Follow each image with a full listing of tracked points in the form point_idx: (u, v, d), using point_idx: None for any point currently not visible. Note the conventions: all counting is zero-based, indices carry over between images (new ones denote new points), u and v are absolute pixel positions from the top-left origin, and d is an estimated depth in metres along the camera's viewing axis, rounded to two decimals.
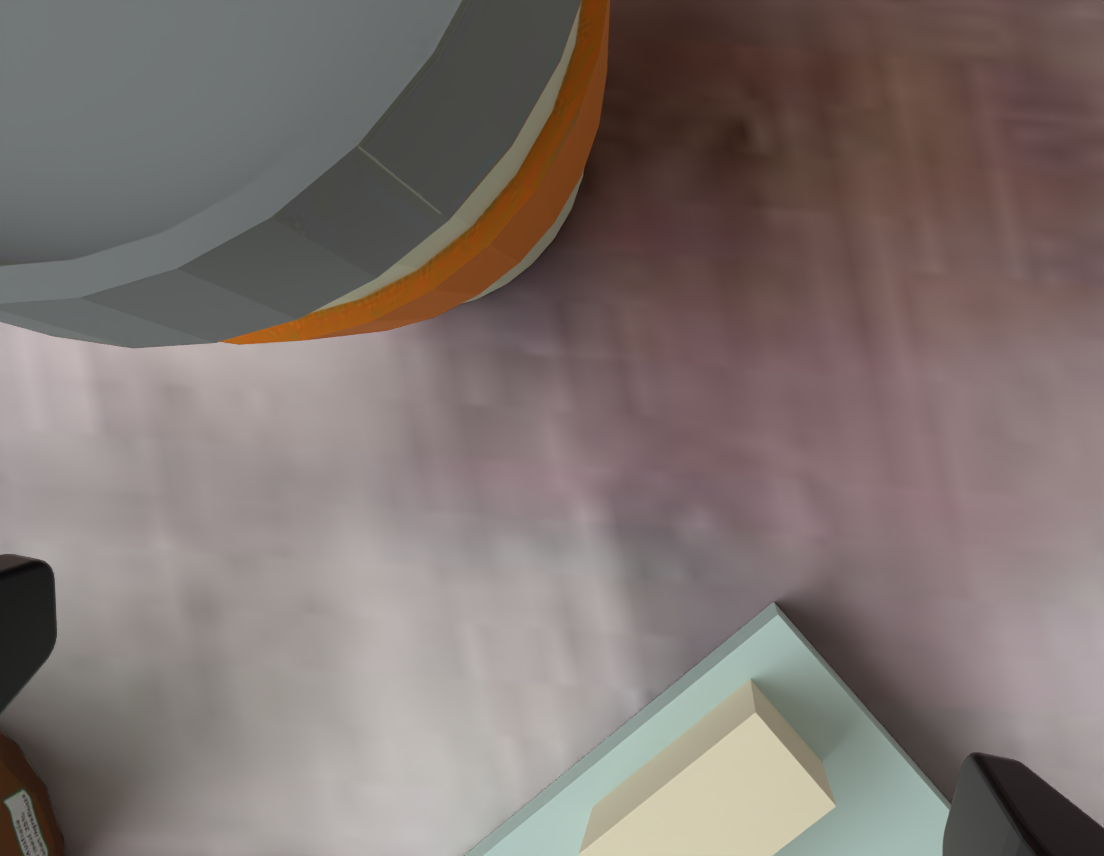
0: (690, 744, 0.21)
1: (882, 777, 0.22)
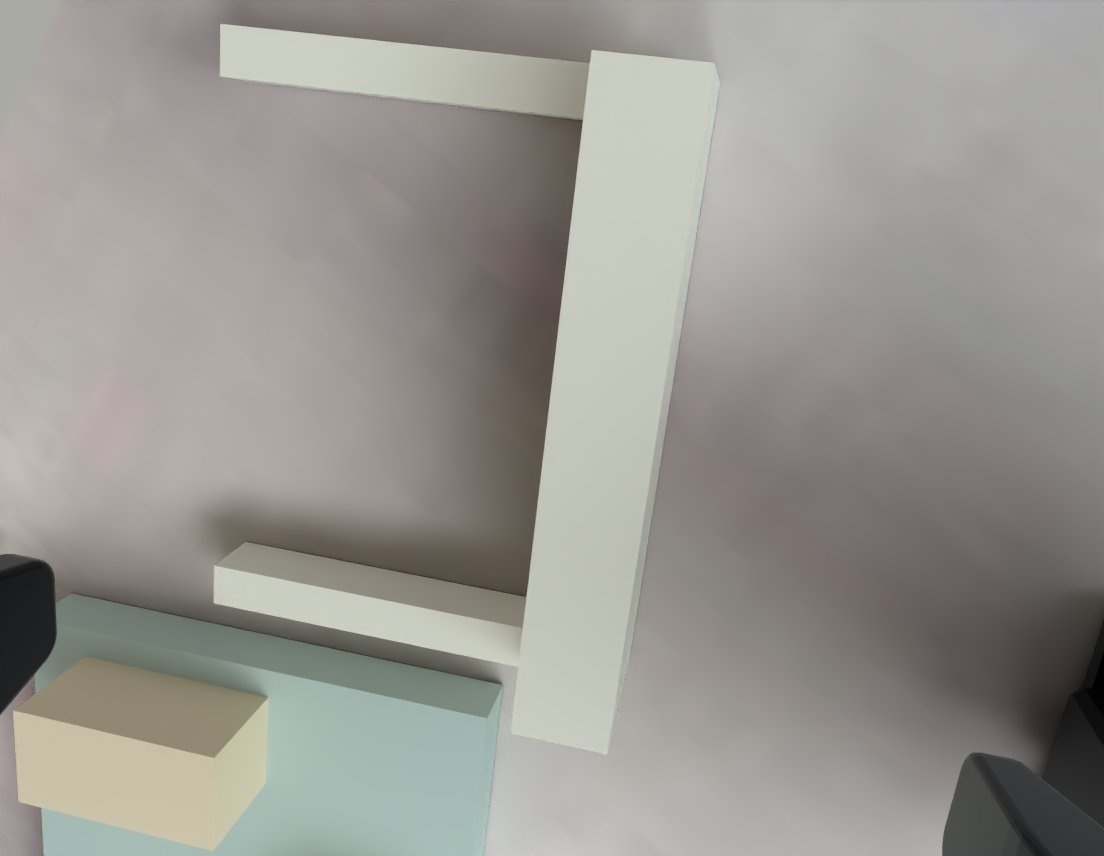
0: None
1: None
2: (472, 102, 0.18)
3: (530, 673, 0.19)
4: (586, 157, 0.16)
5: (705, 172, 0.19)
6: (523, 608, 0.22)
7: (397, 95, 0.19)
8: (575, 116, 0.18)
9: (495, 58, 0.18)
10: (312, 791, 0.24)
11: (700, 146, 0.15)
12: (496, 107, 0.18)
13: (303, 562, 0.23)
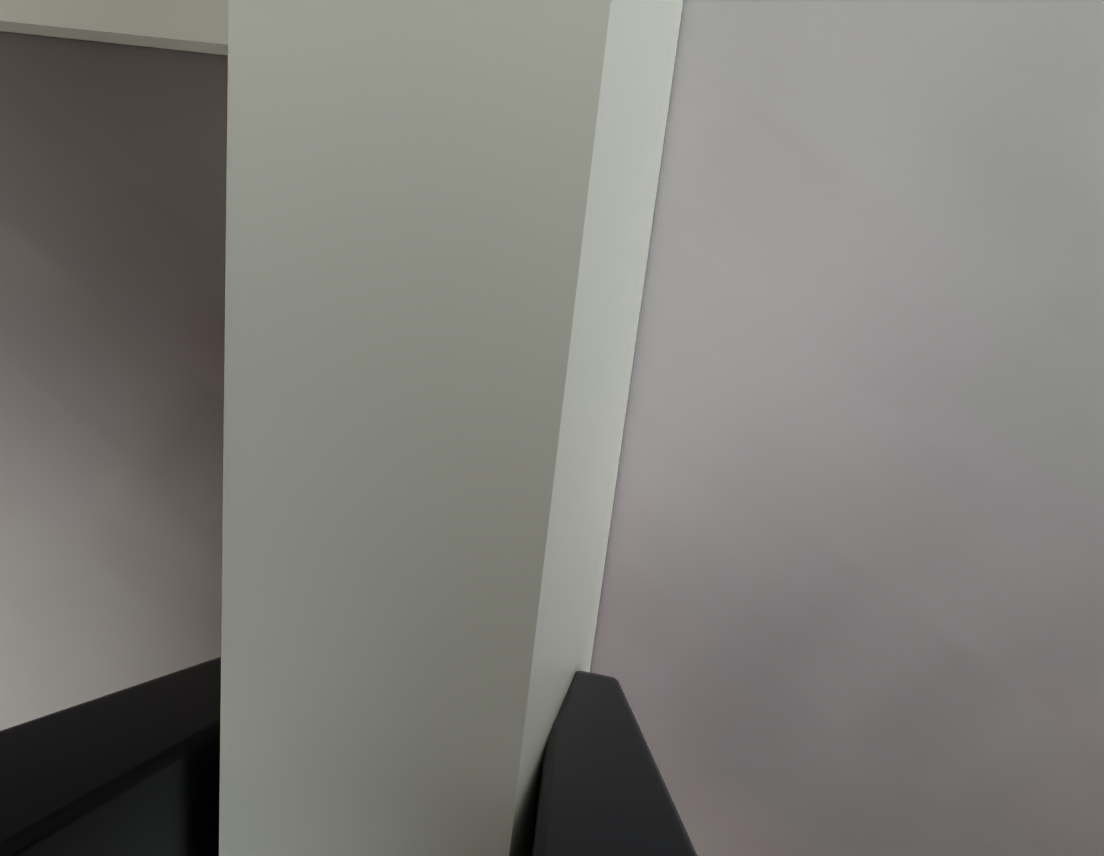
0: None
1: None
2: (90, 22, 0.08)
3: None
4: (251, 149, 0.05)
5: (653, 187, 0.08)
6: None
7: None
8: None
9: None
10: None
11: (596, 111, 0.05)
12: (146, 33, 0.08)
13: None
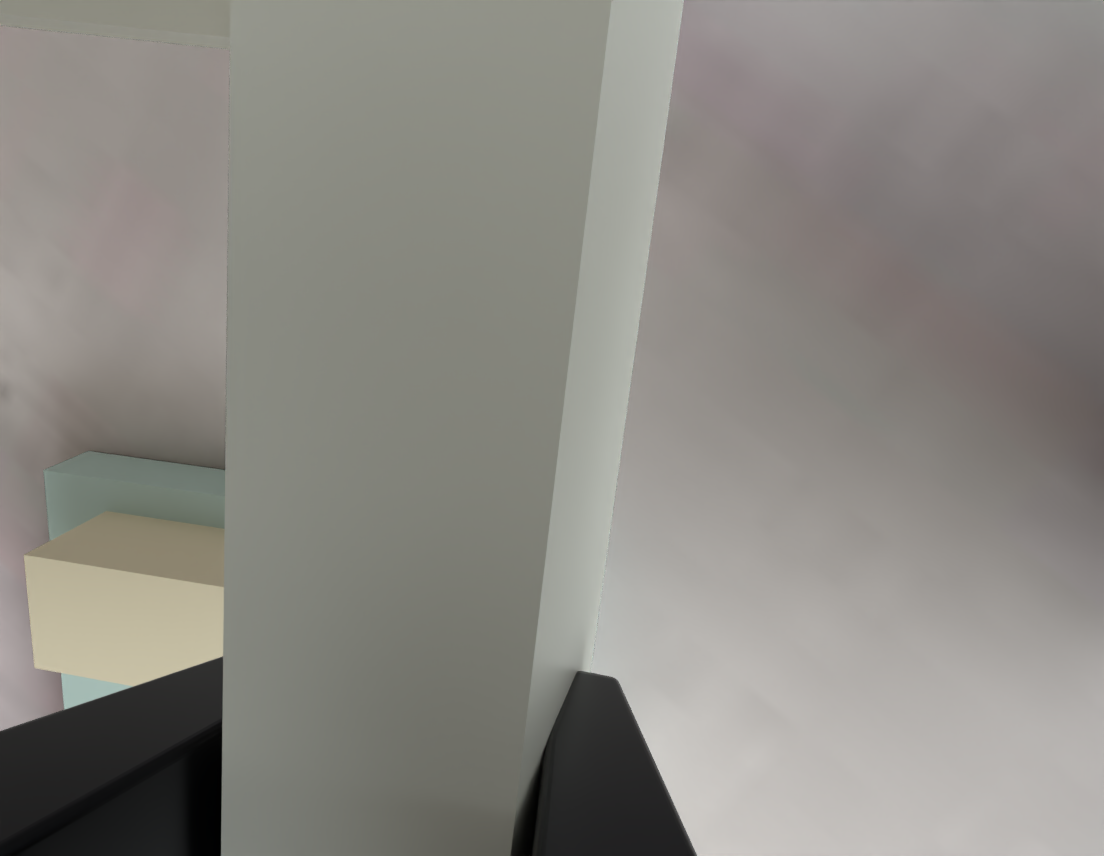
0: None
1: None
2: (92, 15, 0.08)
3: None
4: (253, 139, 0.05)
5: (655, 180, 0.08)
6: None
7: None
8: None
9: None
10: None
11: (598, 99, 0.05)
12: (148, 26, 0.08)
13: None
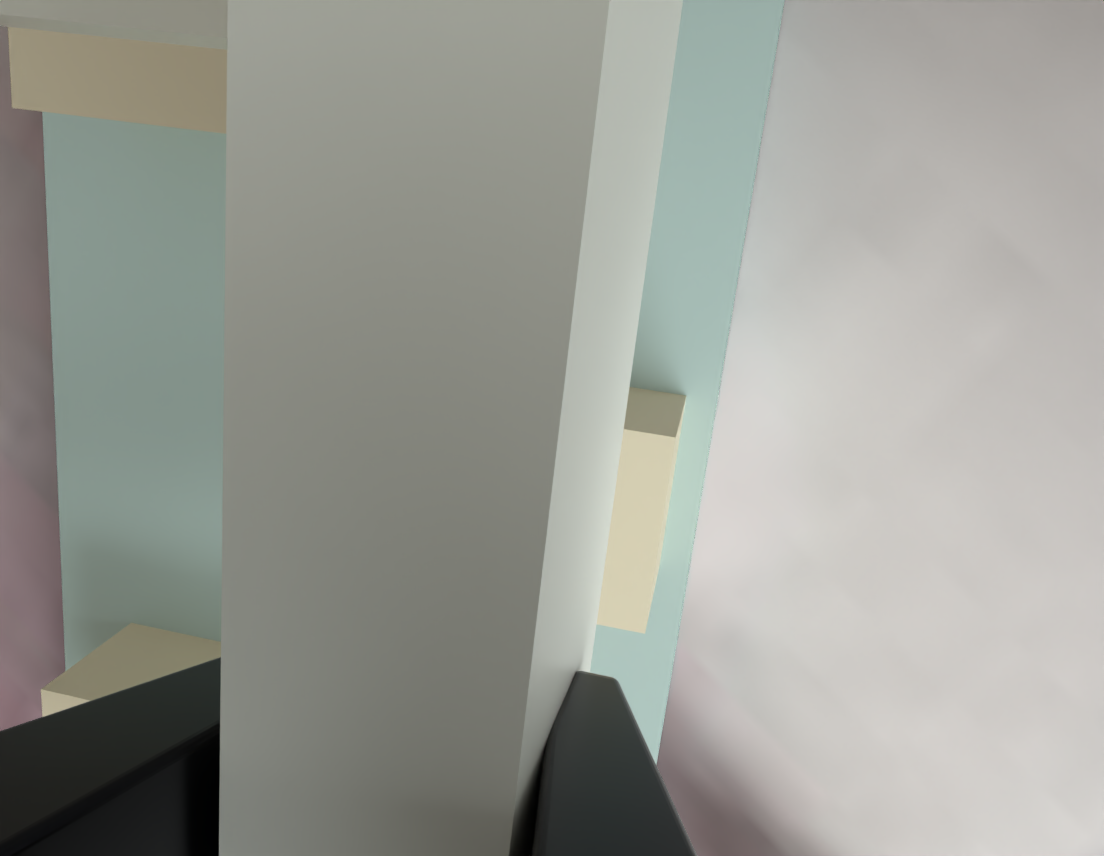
0: None
1: (91, 563, 0.18)
2: (90, 15, 0.08)
3: None
4: (250, 139, 0.05)
5: (653, 180, 0.08)
6: None
7: None
8: None
9: None
10: None
11: (596, 99, 0.05)
12: (146, 27, 0.08)
13: None
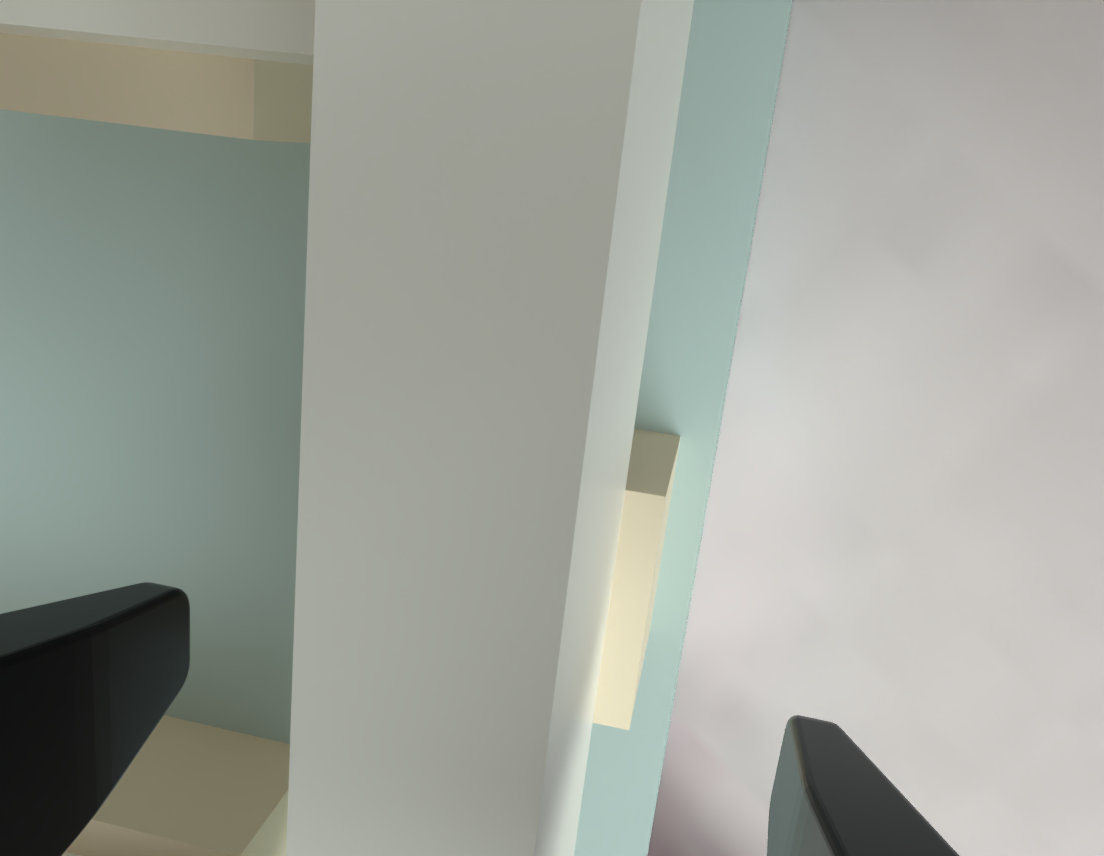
0: None
1: None
2: (163, 33, 0.09)
3: None
4: (331, 144, 0.06)
5: (665, 179, 0.09)
6: None
7: (14, 21, 0.09)
8: None
9: None
10: None
11: (625, 111, 0.06)
12: (213, 43, 0.09)
13: None
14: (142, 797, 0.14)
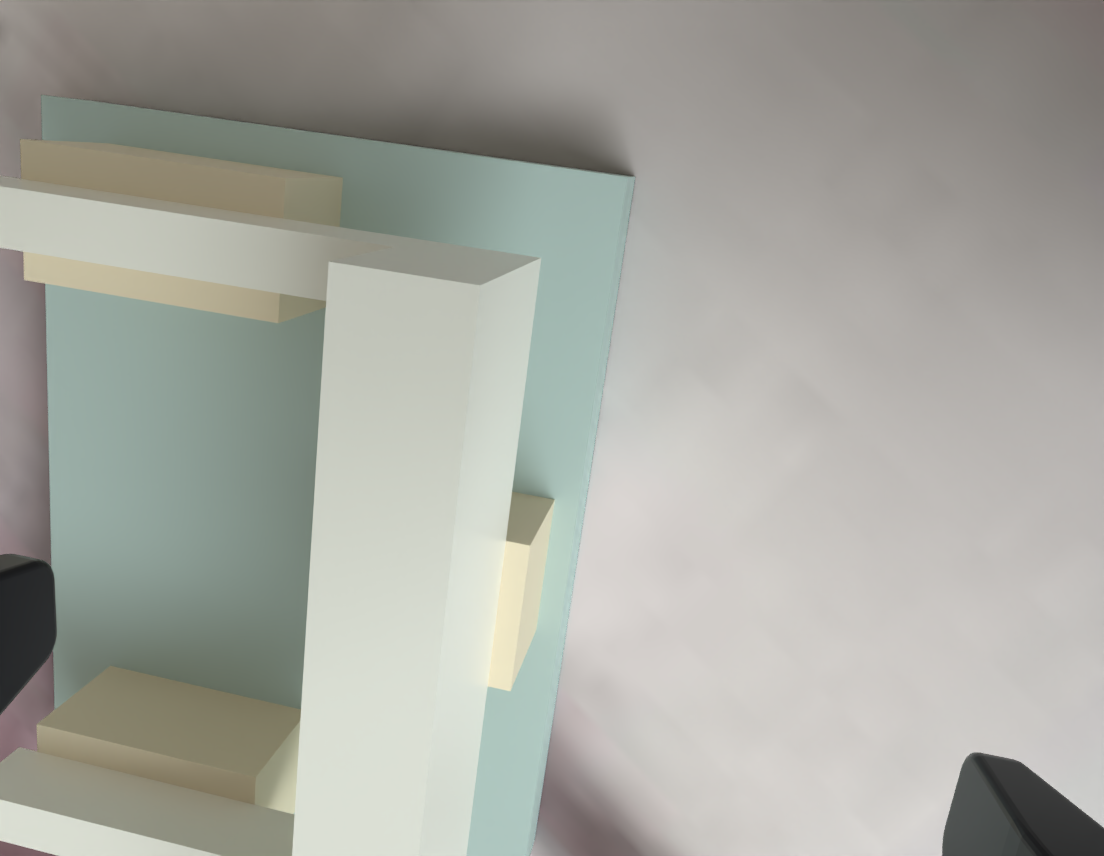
0: None
1: (78, 617, 0.22)
2: (232, 282, 0.15)
3: None
4: (330, 389, 0.12)
5: (523, 364, 0.16)
6: None
7: (143, 269, 0.15)
8: None
9: (256, 232, 0.15)
10: None
11: (469, 384, 0.12)
12: (261, 288, 0.15)
13: (80, 780, 0.20)
14: (187, 740, 0.20)
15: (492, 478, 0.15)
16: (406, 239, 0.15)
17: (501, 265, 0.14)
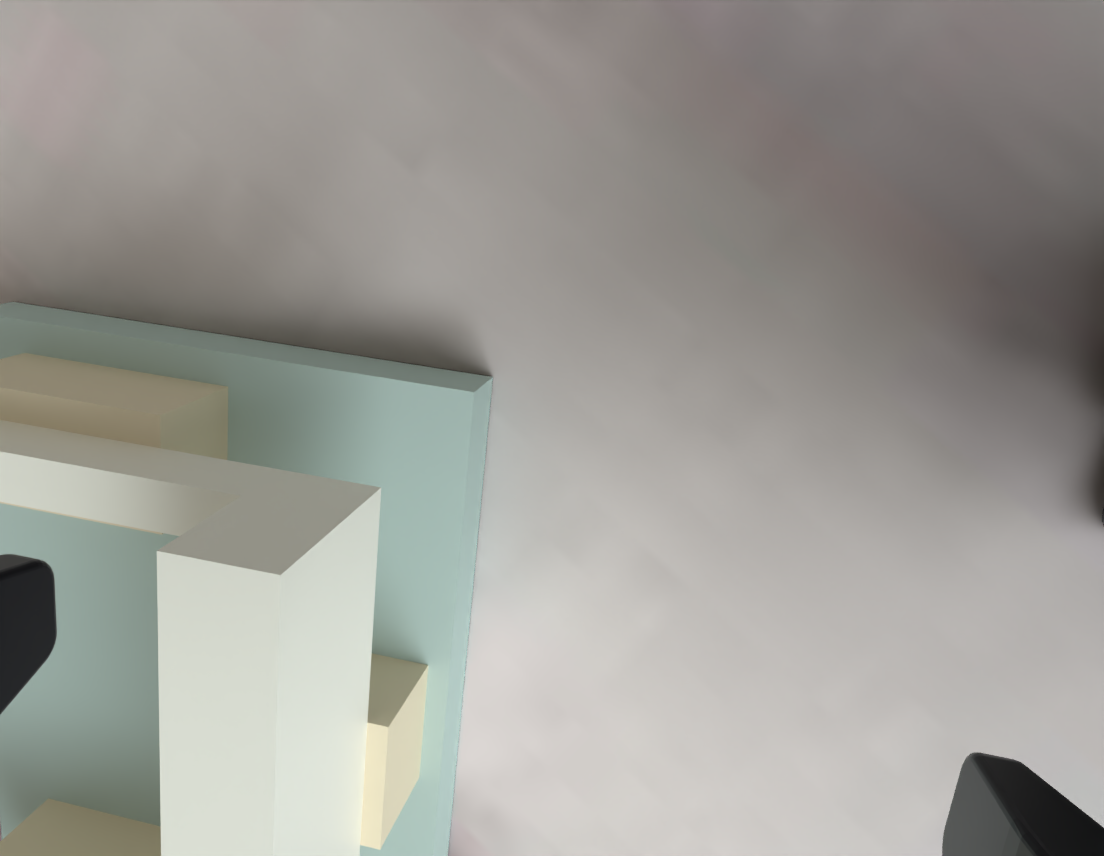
0: None
1: (18, 755, 0.24)
2: (107, 519, 0.17)
3: None
4: (166, 650, 0.15)
5: (368, 580, 0.18)
6: None
7: (32, 506, 0.17)
8: None
9: (125, 479, 0.17)
10: None
11: (278, 651, 0.14)
12: (132, 525, 0.17)
13: None
14: None
15: (332, 692, 0.17)
16: (263, 472, 0.18)
17: (328, 518, 0.16)
